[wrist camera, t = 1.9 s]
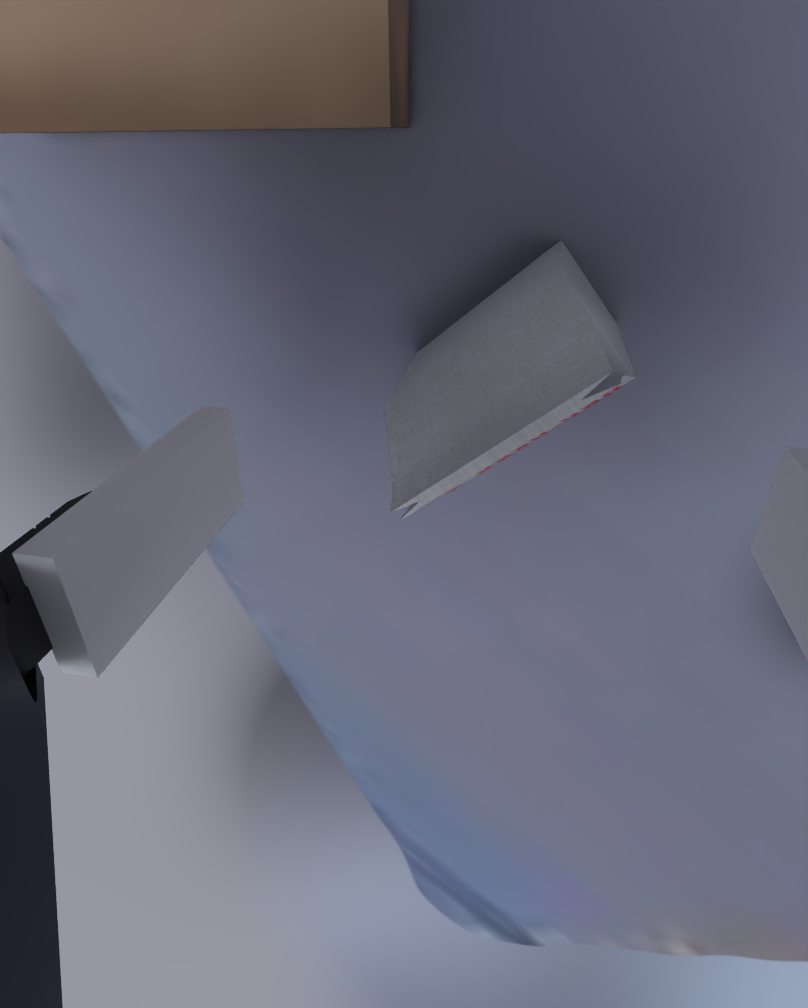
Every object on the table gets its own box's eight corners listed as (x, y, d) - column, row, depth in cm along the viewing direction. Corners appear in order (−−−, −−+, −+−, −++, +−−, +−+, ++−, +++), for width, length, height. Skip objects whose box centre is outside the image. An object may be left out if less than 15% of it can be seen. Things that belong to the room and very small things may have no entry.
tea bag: (416, 352, 24) (348, 466, 16) (561, 239, 21) (569, 308, 13) (471, 421, 26) (434, 561, 17) (616, 323, 22) (657, 436, 14)
